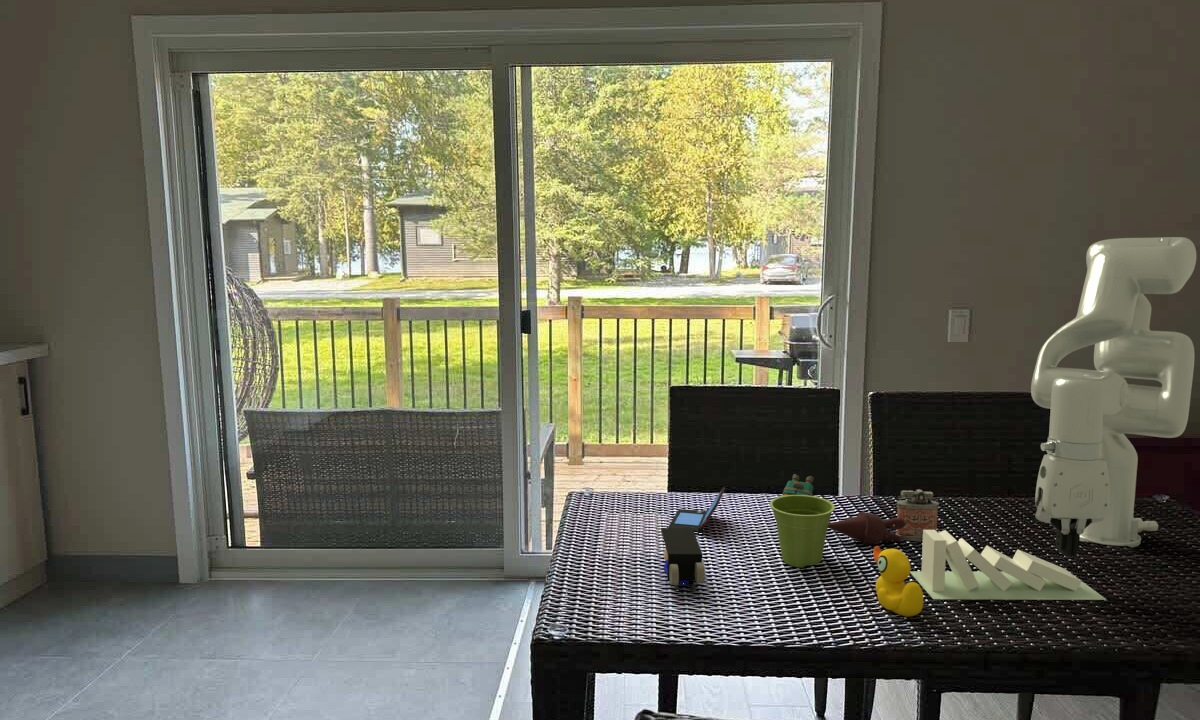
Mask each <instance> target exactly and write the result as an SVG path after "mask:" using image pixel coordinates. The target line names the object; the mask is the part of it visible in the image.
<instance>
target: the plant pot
mask: <svg viewBox="0 0 1200 720" xmlns="http://www.w3.org/2000/svg"><path fill="white" fill-rule="evenodd" d="M780 496H781V497H780ZM780 496H778V497H775V498H773V499H772V500H770V502H769V507H770V508H771V510H772V512H773V516H774V517H773V518H774V520H775V522H776V528H777V536H778V541H779V547H780V554H781V559H782V560H783V562H784V563H785V564H787V565H789V566H791V567H795V568H800V569H801V568H805V567H806V566H812V565H817V564H819V563H821V562H822V559H823V555H824V554H823V553H824V548H825V542H826V538H827V532H828V524H830V521H831V516H832V513H833V512H834V511H835V509H836V508H835V507H836V506H835V505H834V503H832V501H829V500H828V499H825V498H822V497H818V496H814V495H812V496H808V495H786V496H782V495H780Z"/></svg>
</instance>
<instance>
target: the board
mask: <svg viewBox="0 0 1200 720" xmlns="http://www.w3.org/2000/svg"><path fill="white" fill-rule="evenodd" d="M921 572H922V570H921V571H915V570H914V571H910V574H911V576H913V578H914V579H915V580H916V581H917V582H918V583H919V586H920V587H922V589H924V590H925V591H926V593H927V594H928V595H929V596H930V597H931V599H932V600H1005V601H1006V600H1010V601H1011V600H1016V601H1017V600H1018V601H1019V600H1021V601H1022V600H1023V601H1024V600H1027V601H1028V600H1030V601H1031V600H1036V601H1037V600H1038V601H1039V600H1042V601H1043V600H1044V601H1045V600H1047V601H1048V600H1049V601H1054V600H1055V601H1056V600H1057V601H1059V600H1060V601H1062V600H1063V601H1068V600H1071V601H1072V600H1076V601H1086V600H1087V601H1102V600H1103V601H1107V598H1106V597H1104V596H1103V595H1101V594H1100V593H1098V592H1097V591H1096V590H1095V589H1093V588H1092V587H1090V586H1089V585H1087V584H1086V582H1085V583H1084V582H1083V581H1082V580H1081V583H1080V585H1079V587H1078V589H1077V590H1076V591H1074V590H1071V589H1069V588H1066V587H1064V586H1062V585H1059V584H1057V583H1054V582H1052V581H1050V580H1047V579H1045V578H1043V579H1044V580H1045V581H1046V583H1045V584H1044V586H1043V587H1042V589H1041V590H1040V591H1038V590H1037V589H1035V588H1033V587H1031V586H1029V585H1027V584H1025V583H1024V582H1022V581H1020V580H1018V579H1016V578H1014V577H1013V576H1011V575H1009V574H1007V573H1005V572H1003V571H1000V572H1001V573H1002V574H1003V575H1004V576H1005V577H1006V578H1007V579H1009V580H1010V581H1011V582H1012V584H1011V585H1010V586H1009V587H1008V588H1007V589H1006V590H1005V591H1003V590H1002V589H1001V588H1000V587H998V586H997V585H996V584H995V583H994V582H993V581H992V580H991V579H990V578H988V577H987V576H986V575H985V574H984V573H983V572H982V571H972V572H973V574H974V576H975V578H976V580H977V582H978V585H979V586H978V587H976V588H974V589H972V590H969V591H968V590H967V589H966V588H965V587H964V586H963V585H962V584H961V583H960V582H959V581H958V580H957V579H956V578H955V576H954V574H953V572H952V570H951V571H946V570H945V587H944V591H932V590H931V589H930V588H929V587H928V586H927V584H926V583H925V582H924V581H923V580H922V579H921ZM1041 578H1042V577H1041Z"/></svg>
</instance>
